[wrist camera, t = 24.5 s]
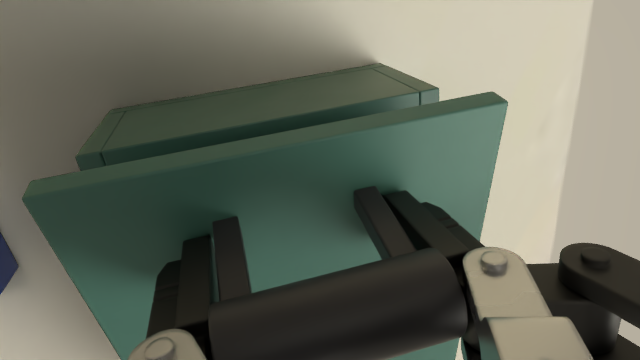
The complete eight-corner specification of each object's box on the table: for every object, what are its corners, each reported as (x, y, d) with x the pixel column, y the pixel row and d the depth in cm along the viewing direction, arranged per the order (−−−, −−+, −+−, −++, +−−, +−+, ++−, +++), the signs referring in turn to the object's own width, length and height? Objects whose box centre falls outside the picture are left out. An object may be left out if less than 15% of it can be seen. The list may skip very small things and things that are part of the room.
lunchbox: (109, 109, 18) (73, 156, 13) (381, 62, 21) (439, 87, 16) (200, 373, 26) (200, 469, 21) (394, 318, 28) (437, 393, 23)
